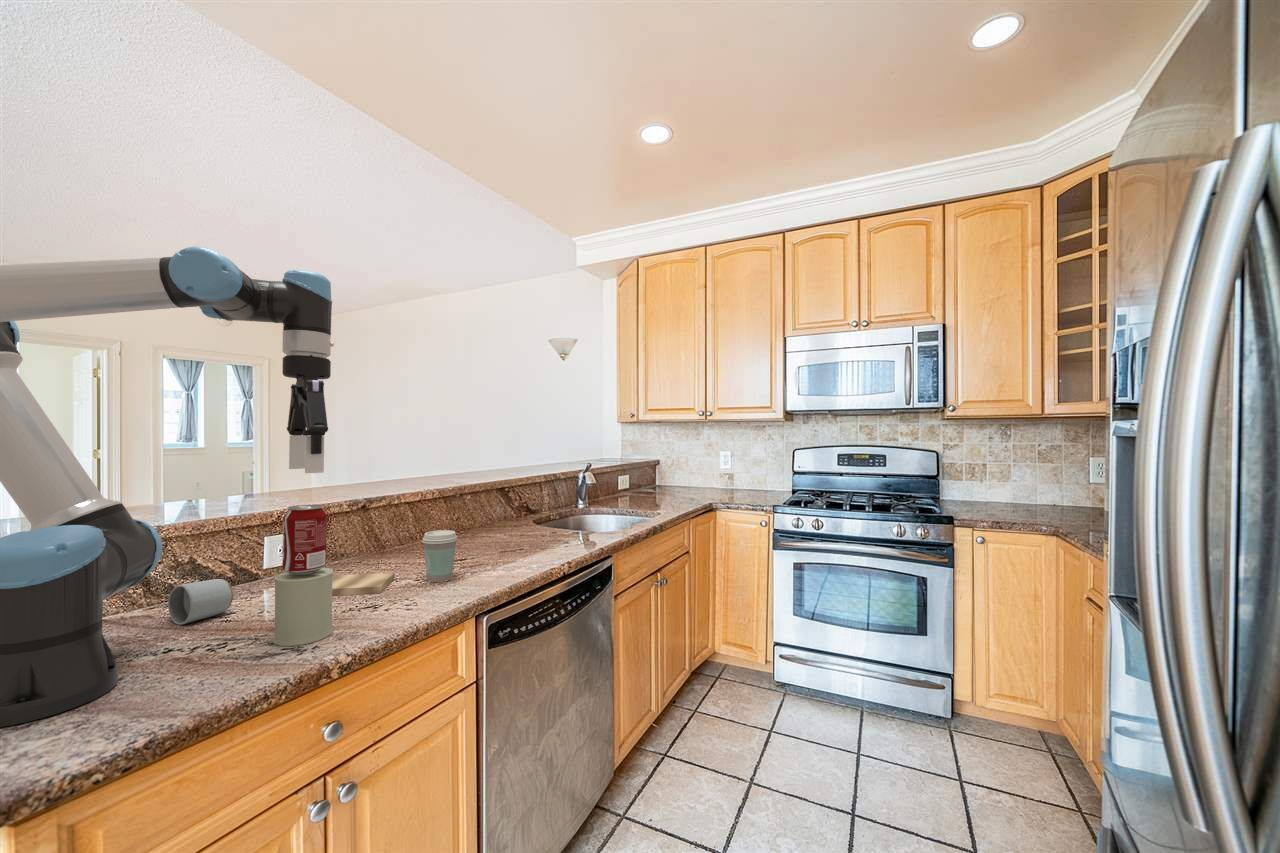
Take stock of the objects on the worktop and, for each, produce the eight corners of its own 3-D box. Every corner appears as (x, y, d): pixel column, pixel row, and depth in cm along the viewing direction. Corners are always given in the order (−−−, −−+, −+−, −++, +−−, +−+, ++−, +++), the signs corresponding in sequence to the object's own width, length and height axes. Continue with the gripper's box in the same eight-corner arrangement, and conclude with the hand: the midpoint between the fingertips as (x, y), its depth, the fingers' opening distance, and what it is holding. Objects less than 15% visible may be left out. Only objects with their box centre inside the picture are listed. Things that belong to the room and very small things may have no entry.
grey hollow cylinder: (236, 613, 106) (236, 576, 106) (190, 627, 98) (190, 587, 99) (203, 608, 110) (203, 572, 110) (156, 621, 102) (156, 582, 102)
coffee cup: (433, 574, 136) (433, 529, 136) (463, 575, 135) (463, 530, 135) (414, 583, 128) (415, 535, 128) (446, 585, 127) (447, 536, 127)
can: (303, 648, 89) (304, 579, 89) (259, 643, 91) (260, 576, 91) (344, 628, 98) (345, 566, 98) (303, 624, 100) (304, 563, 100)
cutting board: (304, 597, 117) (305, 590, 117) (326, 582, 128) (326, 575, 128) (380, 593, 120) (380, 586, 120) (394, 578, 132) (394, 572, 132)
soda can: (333, 569, 96) (333, 505, 96) (292, 578, 90) (293, 510, 90) (315, 564, 99) (316, 503, 99) (275, 572, 94) (276, 507, 94)
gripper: (348, 351, 89) (347, 473, 89) (314, 364, 107) (313, 466, 107) (297, 346, 84) (296, 476, 83) (270, 361, 102) (269, 467, 101)
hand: (305, 470), depth 95 cm, fingers open, 13 cm apart
